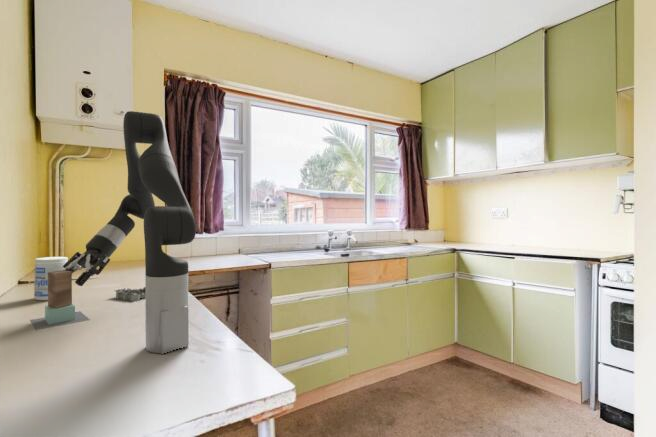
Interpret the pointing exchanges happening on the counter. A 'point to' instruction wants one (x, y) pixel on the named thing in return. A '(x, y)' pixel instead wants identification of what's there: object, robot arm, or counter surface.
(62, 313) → the plinth
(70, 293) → the pillar
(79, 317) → the mat
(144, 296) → the egg carton
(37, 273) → the supplement tub
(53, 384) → the counter surface
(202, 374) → the counter surface
